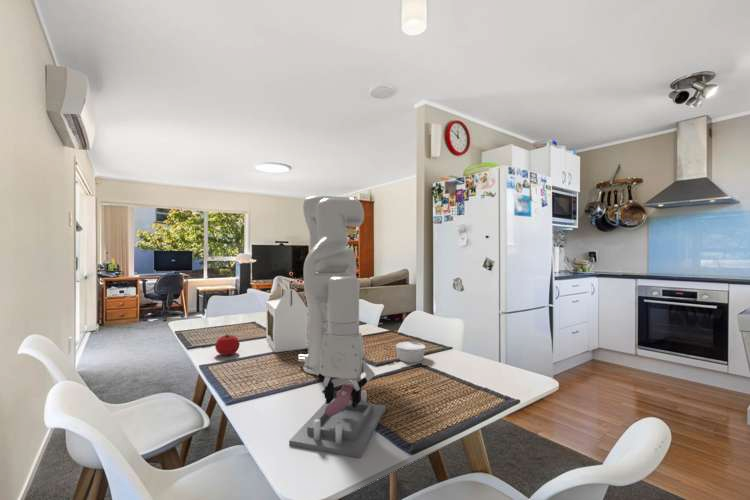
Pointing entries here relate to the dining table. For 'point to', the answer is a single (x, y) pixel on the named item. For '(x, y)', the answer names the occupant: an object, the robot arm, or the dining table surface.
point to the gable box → (286, 319)
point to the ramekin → (410, 351)
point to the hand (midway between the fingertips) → (342, 402)
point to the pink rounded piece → (340, 400)
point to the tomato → (227, 345)
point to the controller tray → (340, 429)
